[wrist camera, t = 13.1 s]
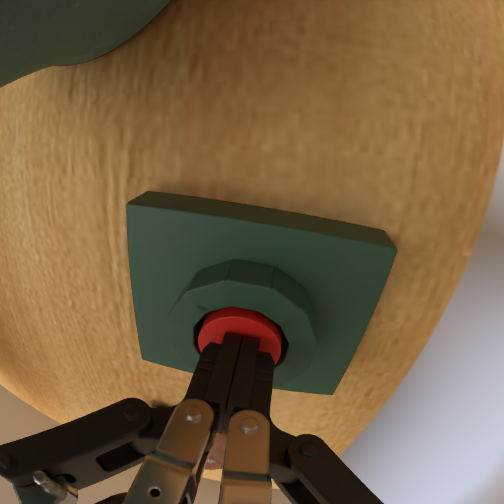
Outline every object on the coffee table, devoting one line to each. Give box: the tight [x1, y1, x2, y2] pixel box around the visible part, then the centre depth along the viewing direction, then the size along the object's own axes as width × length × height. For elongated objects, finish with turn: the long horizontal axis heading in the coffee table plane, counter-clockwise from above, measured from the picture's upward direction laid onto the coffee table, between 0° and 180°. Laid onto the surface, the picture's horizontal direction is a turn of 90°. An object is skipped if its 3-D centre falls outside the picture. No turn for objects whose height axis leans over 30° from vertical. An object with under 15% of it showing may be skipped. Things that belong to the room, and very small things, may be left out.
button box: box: [126, 191, 398, 395], centre depth 14 cm, size 12×10×4 cm
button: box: [198, 306, 282, 364], centre depth 13 cm, size 4×4×2 cm
